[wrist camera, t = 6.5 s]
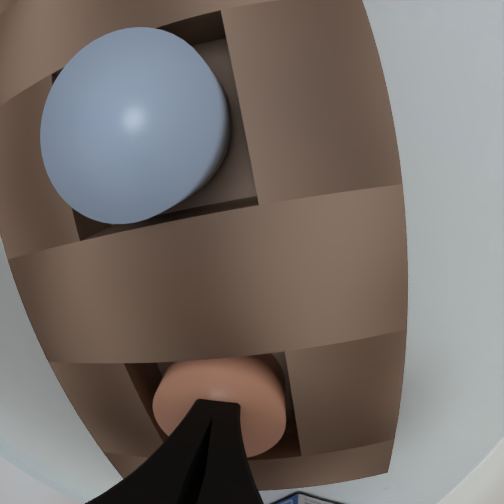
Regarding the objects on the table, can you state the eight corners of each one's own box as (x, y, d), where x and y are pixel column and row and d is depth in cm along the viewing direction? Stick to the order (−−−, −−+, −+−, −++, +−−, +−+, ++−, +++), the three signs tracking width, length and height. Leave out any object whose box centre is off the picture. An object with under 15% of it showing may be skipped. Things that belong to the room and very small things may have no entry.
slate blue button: (99, 222, 9) (60, 240, 7) (74, 83, 7) (33, 72, 6) (246, 191, 8) (237, 201, 6) (215, 33, 7) (199, 2, 5)
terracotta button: (187, 424, 12) (177, 458, 10) (153, 340, 11) (133, 373, 9) (291, 418, 12) (292, 455, 10) (275, 328, 10) (275, 363, 8)
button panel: (141, 446, 14) (126, 481, 12) (36, -63, 6) (10, -80, 4) (376, 431, 13) (387, 472, 10) (268, -141, 5) (266, -173, 2)
